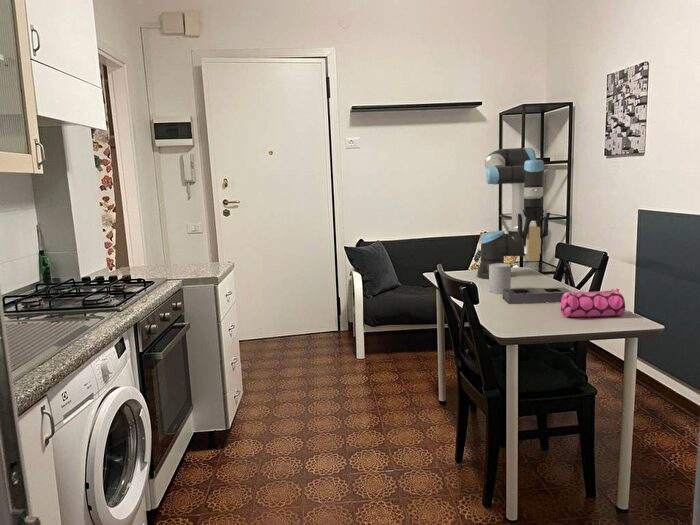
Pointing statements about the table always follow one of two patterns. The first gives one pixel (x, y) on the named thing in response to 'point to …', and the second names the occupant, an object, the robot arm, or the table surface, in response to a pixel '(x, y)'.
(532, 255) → the brass peg
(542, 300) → the gray slotted block
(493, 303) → the table surface
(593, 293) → the pencil case
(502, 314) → the table surface
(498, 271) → the gray cylinder
